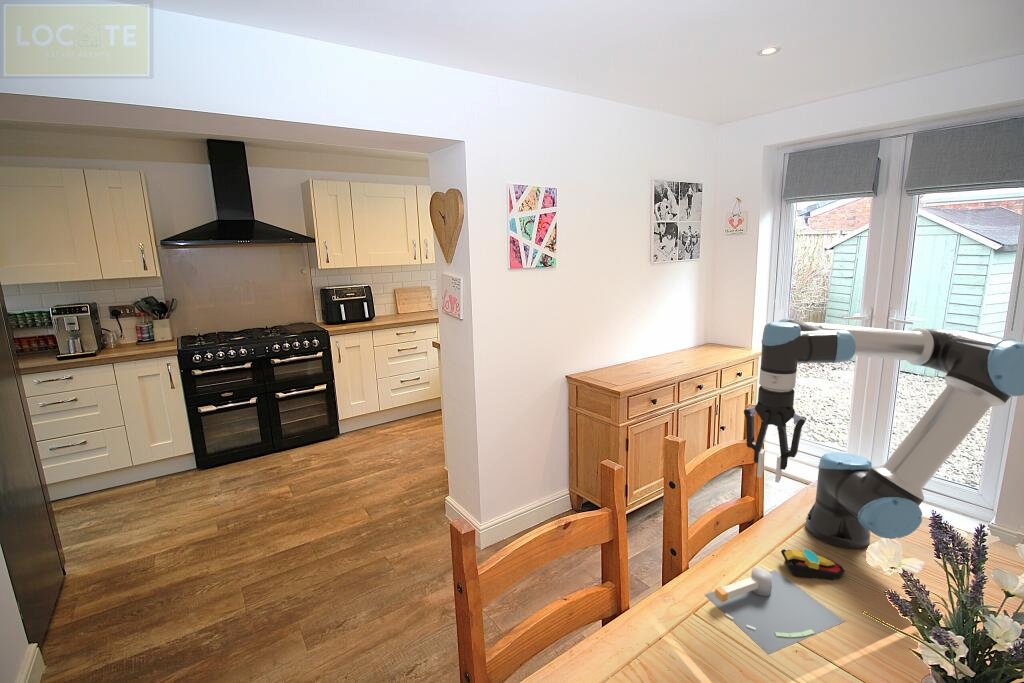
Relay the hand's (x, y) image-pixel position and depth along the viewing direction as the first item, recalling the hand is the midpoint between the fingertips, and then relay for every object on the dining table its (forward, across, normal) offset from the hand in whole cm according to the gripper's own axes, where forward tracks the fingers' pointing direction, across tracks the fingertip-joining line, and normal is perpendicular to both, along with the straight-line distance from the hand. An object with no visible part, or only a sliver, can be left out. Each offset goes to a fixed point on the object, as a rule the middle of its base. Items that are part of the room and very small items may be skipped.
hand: (768, 477), depth 120 cm
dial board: (+25, +6, -16) cm, 30 cm away
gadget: (+25, +11, +3) cm, 27 cm away
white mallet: (+23, 0, -16) cm, 28 cm away
